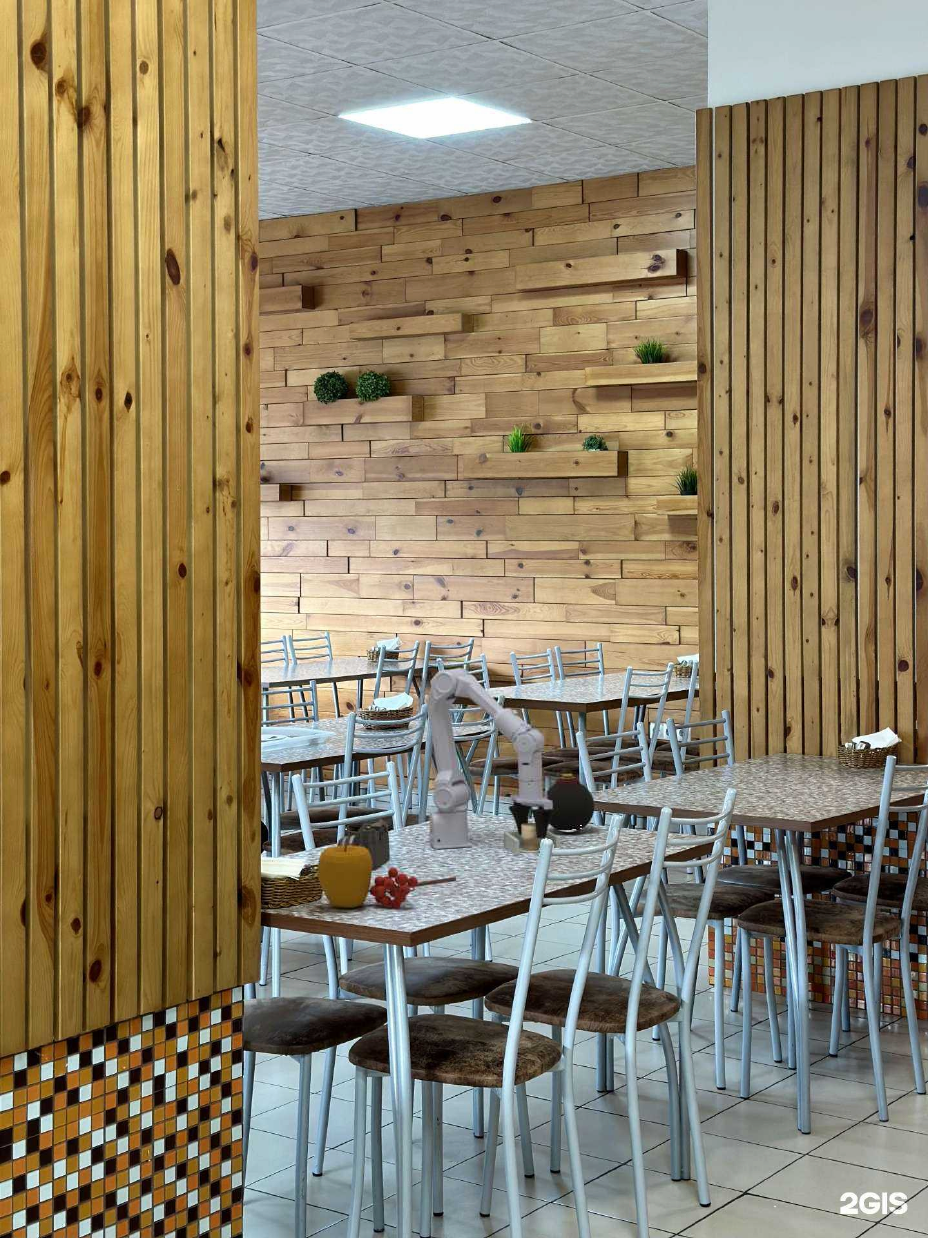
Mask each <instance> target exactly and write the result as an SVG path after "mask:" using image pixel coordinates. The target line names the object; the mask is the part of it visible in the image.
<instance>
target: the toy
mask: <svg viewBox="0 0 928 1238" xmlns="http://www.w3.org/2000/svg"><path fill="white" fill-rule="evenodd" d="M543 798H545V799H548V800H551V801H552V805H553V809H554V813H553V815H552V817H551V819H550V822H549V825H550V826H551V827H552V828H553V829H555V830H557V831H558V830H572V829H576V830H579V831H581V830H580V828H583V829H584V828H586V827H587V826H588V824H590V822H591V820H592V818H593V816H594V813H595V801H594V797H593V794H592V793H591V791H590V790H589V788H587V786H585V785H584V784H583V783H581V781H580V779H579V778H577V777H576V776H573V774H572V773H564V774H562V776H560V777H559V778H557V779H556V780H555V783H554V784H552V786H550V787H549V788H548V789H547V791H546V792H545V794H544V795H543ZM580 825H582V826H580Z"/></svg>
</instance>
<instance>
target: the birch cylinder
mask: <svg viewBox="0 0 928 1238" xmlns="http://www.w3.org/2000/svg"><path fill="white" fill-rule="evenodd" d="M521 827H522V846H521V848H522V850H525V851H538V850H539V848H540V842H541V840H542V838H537V834H536V824H535V822H528V823H524V824H522V825H521Z"/></svg>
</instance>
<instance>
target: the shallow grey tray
mask: <svg viewBox="0 0 928 1238" xmlns="http://www.w3.org/2000/svg"><path fill="white" fill-rule="evenodd" d="M546 838H547V839H551V840H552V841H553V844H554V848H560V849H561V839H560V836H558V835H556V834H554V832H553V833H552V831H551V832H550V831H549V830H548V829H547V834H546ZM542 839H545V838H542ZM503 846H504V848H505V849H507V850H509V851H510V852H511V853H512V854H514V855H515V856H520V853H521V852H524V853H539V852H538V851H525V850H522V834H521V835H520V834H519V833H518V830H517V831H503ZM520 847H521V848H520Z"/></svg>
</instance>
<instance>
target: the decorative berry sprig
mask: <svg viewBox="0 0 928 1238" xmlns="http://www.w3.org/2000/svg"><path fill="white" fill-rule="evenodd" d="M387 874H388V875H386V876H381V875H378V876H377V877H375V878H374V884H373V885H371V886H370V888H369V891H368V893H369V894H370V895H371V896H372V897H374V901H375V902H376V903H378V904H381V906H382V907H384V908H386V907H389V906H390V908H391V909H393V910H395V909H400V907H401V906H402V904H403V903H405V901H406V899H407V896H408V895H409V894H410V892H413V891H415V890H416V889H415V888H417V887H421V886H423V887H424V886H430V885H434V884H442V883H448V882H449V883H450V882H455V881H456V882H457V877H456V876H453V877H448V878H447V877H446V878H440V879H434V880H427V881H421V882H419V881H418V879H417V877H415V876H410V877H409V876H408V875H407V874H405V873H403V872H402V873H399V870H398V869H397V868H396V867H391V868H389V869H388V871H387ZM412 888H413V889H412Z"/></svg>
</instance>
